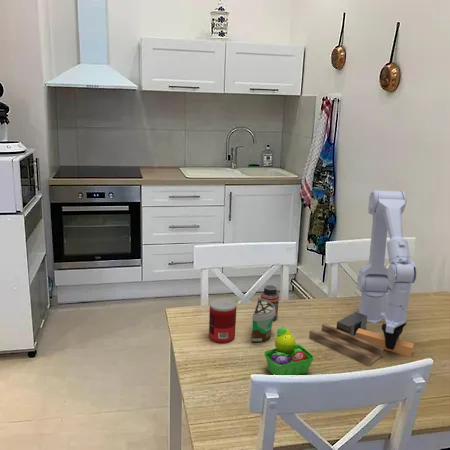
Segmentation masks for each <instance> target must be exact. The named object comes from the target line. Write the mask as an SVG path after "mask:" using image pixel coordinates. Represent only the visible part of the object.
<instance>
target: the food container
mask: <svg viewBox="0 0 450 450" xmlns="http://www.w3.org/2000/svg"><path fill="white" fill-rule="evenodd" d="M275 315H276V311H275V307H274V305H273V303H271V302H270V301H268V300H265V299H261V297H260V298H259V297H258V298H257V304H256V307H255V310H254V312H253V313H252V325H251V326H252V327H251V328H252V329H251V344H263V343H266V342H269V340H270V339H271V333H272V327H273V322H272V321H273V317H274V316H275Z"/></svg>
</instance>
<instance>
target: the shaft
mask: <svg viewBox="0 0 450 450" xmlns="http://www.w3.org/2000/svg"><path fill="white" fill-rule="evenodd" d="M355 337H357V338H360V339H362V340H365V341H367V342H369V343H372V344H374V345H376V346H379V347H381V348H383V349H384V350H385V351H388V352H392V353H395V354H398V355H403V356H406V357H409V358H410V357H411V358H412V355H413V352H414V349H415V348H414V346H415V343H414V342H410V341H407V340H404V339H397V342H396V345H395V347H394V349H393V350H392V349H388V348H386V344H385V336H384V334H382V333H378V332H374V331H371V330H367V329H365V330H364V329H360V328H359V329H358V330H357V332H356V335H355Z"/></svg>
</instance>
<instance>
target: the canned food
mask: <svg viewBox="0 0 450 450" xmlns="http://www.w3.org/2000/svg"><path fill="white" fill-rule="evenodd" d="M208 315H209V316H208V317H209V321H208V323H209V324H208V337H209V339H210V340H211V341H212V342H214V343H218V344H226V343H230V342H233V341H234V339H235V337H236V324H237V323H236V322H237V321H236V320H237V303H236V301H234V300H233V299H228V298H218V299H217V298H216V299H214V300H212V301H210V303H209V314H208Z"/></svg>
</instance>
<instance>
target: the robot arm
mask: <svg viewBox="0 0 450 450" xmlns="http://www.w3.org/2000/svg"><path fill="white" fill-rule="evenodd" d="M368 197H369V198H368V208H367V209H368V210H367V211H368V214H369V215H372V225H371V234H370V235H371V236H370V247H369V258H368V262H367V263H366V264H365V265H363V266H362V267H361V266H360V268H359V272H358V275H357V281H356V283H357V284H356V285H357V289H358V291H359V292H361V293H360V301H359V307H358V308H359V309H358V311H357V312H358V313H361V314H363V315H366V316H367V322H368V323H369V322H370V323H371V324H376V323H378V322H380V321H381V320H383V319H384V321H385V323H382V325H381V330H382V332H383V335H384V336H385V344H386V348H388V349H392V350H393V349H394V347H395V345H396V342H397V339H399V338H400V336H401V334H402V333H403V332H404V327H406V325H407V321H408V320H407V313H408V308H409V302H410V293H411V287H412V284H414V283H415V282H416V280H417V274H418V272H417V266H416V264H415V262H414V260H413V259H411V255H410V248H409V243H408V242H409V241H408V240H407V239H406V238H404V236H403V219H402V215H403V213H404V211H405V208H406V205H407V194H406V193H405V191H403V190H397V191H396V190H378V189H373V190H372V191H371V192H370V194H369V196H368ZM388 236H389V240H388V241H387V239H388ZM386 248H387V249H386ZM386 250H387V254H388V255H387V256H388V263H389V265H388V267H386V265H385V261H386V260H385V259H386Z"/></svg>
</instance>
